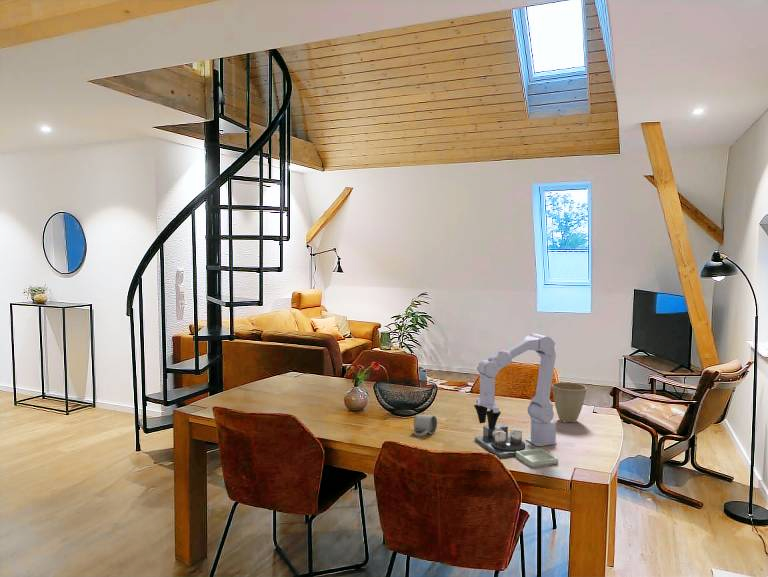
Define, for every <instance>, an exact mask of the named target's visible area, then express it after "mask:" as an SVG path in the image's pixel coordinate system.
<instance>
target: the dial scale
mask: <svg viewBox="0 0 768 577" xmlns="http://www.w3.org/2000/svg"><path fill="white" fill-rule="evenodd" d="M482 427H483V430H482V431H483V432H482V435H481V436H474V441H475V442H476V443H477V444H478V445H479V446H480V445H481V446H482V447H483V448H485V449H486V450H488V451H489V452H491V453H492V454H493V453H494V454H493V455H495V456H496V455H497V456H498V457H497V456H496V457H497V458H499V459H503V458H511V457H516V451H524V450H531V449H536V448H535V447H534V446H532V445H530V444H528V443H527V442H525V441H523V440H522V443H521V444H513V443H511V442H510V435H511V432H509V426H508V425H506V424H504V423H498V424H497V423H496V425H495V429H489V427H488V424H487V425H483V426H482ZM496 431H503V432H506V445H505V446H497V445H495V432H496Z"/></svg>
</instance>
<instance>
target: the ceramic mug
mask: <svg viewBox="0 0 768 577" xmlns="http://www.w3.org/2000/svg"><path fill="white" fill-rule="evenodd" d="M413 427H414V428H413V434H414V435H415V436H416V437H420V438H421V437H424V436H426V435H427V434H429V435H433V434H435V433H436V430H437V428H438V419H437V417H436V415H432V414H417V415H416V416H415V417H414V421H413ZM417 432H420V433H417Z"/></svg>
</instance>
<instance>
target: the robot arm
mask: <svg viewBox="0 0 768 577" xmlns="http://www.w3.org/2000/svg"><path fill="white" fill-rule="evenodd" d="M555 345H556V342H555V341H554V340H553V338H552V337H550V336H548V335H542V334H539V333H536V332H531V333H530V334H529V335H526V336H525V337H524V339H523V340H521V341H520V342H517V344H515V345H514V346H512V347H511V348H510V349H508V350H504V349H503V350H501V349H500V350H498V351H497V353H495V355H493V356H489V357H488V359H483V360H481V361H480V362H479V363H478V366H477V367H476V370H477V372H478V373H479V397H476V399H475V401H476V404H474V405H473V406H474V409H475V411H476V415H477V418H478V422H479V424H485V423H486V420H487V425H488V427H489V429H495V425H496V424H497V422H498V419H499V416H500V415H501V414H502V413H501V411H500V408H499V406H497V404H496V402H495V401H496V400H495V399H496V396H495V395H496V391H495V390H496V376H497V375H498V373H499V371H500V370H502V369H504V368H505V367H506V366H508V365H510V364H511V363H512V360H513V359H514V358H516V357H517V356H520V355H521V354H524V353H525V352H527V351H535V352H536V353H537V354H538V356H539V357H540V361H539V368H538V375H537V376H538V377H537V383H536V390H535V395H534V396H533V397H532V398H530V403H529V404H528V407H527V413H528V414H527V415H529V416H530V418H529V419H530V437H529V438H526V439H525V441H527V442H528V443H530V444H533V446H536V447H542V446H550V445H557V444H558V443H557V441H556V440H557V438H556V436H557V426H556V423H555V422H554V420H553V419H554V415H555V414H554V405H553V404H554V403H553V402H552V401H551V399H550V396H551V390H552V384H553V378H554V377H553V376H554V369H555V363H556V356H557V355H556V350H555Z"/></svg>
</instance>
